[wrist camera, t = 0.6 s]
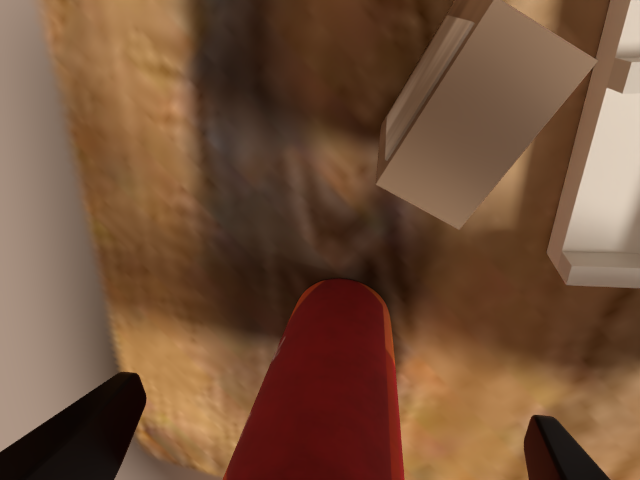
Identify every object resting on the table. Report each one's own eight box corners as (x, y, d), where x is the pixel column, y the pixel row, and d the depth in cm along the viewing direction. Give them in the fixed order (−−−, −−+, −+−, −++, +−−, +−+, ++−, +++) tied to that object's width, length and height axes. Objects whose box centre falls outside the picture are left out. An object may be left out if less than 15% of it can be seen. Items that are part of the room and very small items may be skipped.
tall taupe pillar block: (454, -4, 16) (492, -6, 10) (521, 38, 16) (598, 60, 10) (379, 124, 19) (373, 183, 13) (437, 157, 19) (459, 230, 13)
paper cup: (252, 298, 25) (120, 579, 13) (358, 237, 22) (316, 536, 10) (330, 380, 27) (281, 680, 15) (435, 336, 24) (479, 671, 12)
